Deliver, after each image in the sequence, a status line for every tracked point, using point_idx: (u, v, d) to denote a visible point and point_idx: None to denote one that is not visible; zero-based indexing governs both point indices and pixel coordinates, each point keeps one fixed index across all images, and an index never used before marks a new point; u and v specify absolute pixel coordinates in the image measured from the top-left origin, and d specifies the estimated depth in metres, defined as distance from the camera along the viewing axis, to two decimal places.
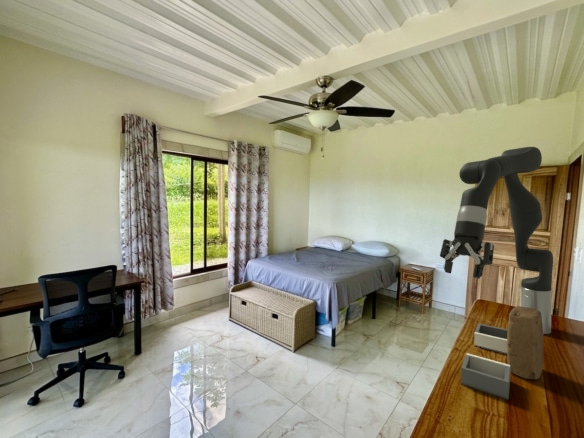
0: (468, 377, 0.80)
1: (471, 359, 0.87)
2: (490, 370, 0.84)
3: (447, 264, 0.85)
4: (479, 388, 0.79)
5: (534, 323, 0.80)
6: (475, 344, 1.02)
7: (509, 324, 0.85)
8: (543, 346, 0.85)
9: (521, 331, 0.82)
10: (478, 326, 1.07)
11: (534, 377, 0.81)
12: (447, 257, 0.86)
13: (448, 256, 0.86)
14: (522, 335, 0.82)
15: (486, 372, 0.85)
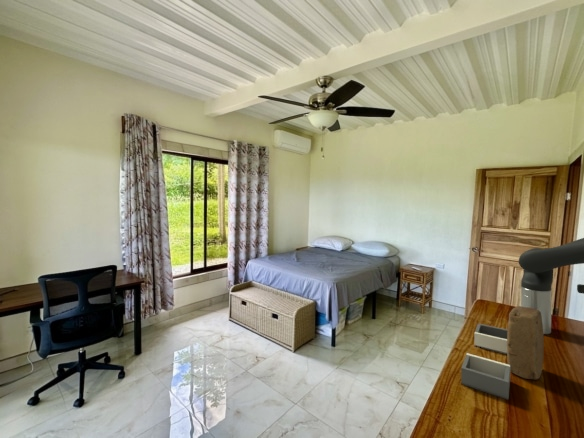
0: (468, 377, 0.80)
1: (471, 359, 0.87)
2: (490, 370, 0.84)
3: None
4: (479, 388, 0.79)
5: (534, 323, 0.80)
6: (475, 344, 1.02)
7: (509, 324, 0.85)
8: (543, 346, 0.85)
9: (521, 331, 0.82)
10: (478, 326, 1.07)
11: (534, 377, 0.81)
12: None
13: None
14: (522, 335, 0.82)
15: (486, 372, 0.85)
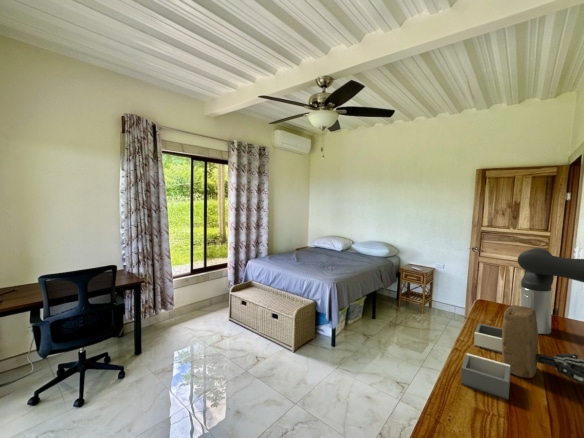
0: (468, 377, 0.80)
1: (471, 359, 0.87)
2: (490, 370, 0.84)
3: (547, 356, 0.83)
4: (479, 388, 0.79)
5: (528, 322, 0.81)
6: (475, 344, 1.02)
7: (504, 323, 0.86)
8: None
9: (516, 330, 0.83)
10: (478, 326, 1.07)
11: (529, 375, 0.82)
12: (557, 358, 0.81)
13: (559, 358, 0.81)
14: (517, 333, 0.83)
15: (486, 372, 0.85)
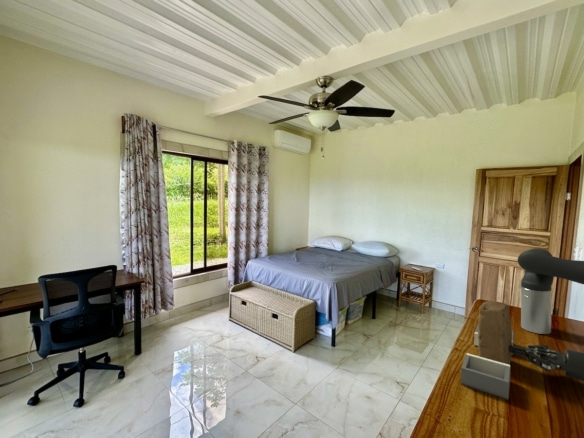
0: (468, 377, 0.80)
1: (471, 359, 0.87)
2: (490, 370, 0.84)
3: (519, 347, 0.87)
4: (479, 388, 0.79)
5: (501, 316, 0.86)
6: (475, 344, 1.02)
7: (479, 318, 0.90)
8: (511, 338, 0.90)
9: (490, 324, 0.88)
10: None
11: None
12: (528, 348, 0.86)
13: (530, 349, 0.85)
14: (491, 327, 0.87)
15: (486, 372, 0.85)
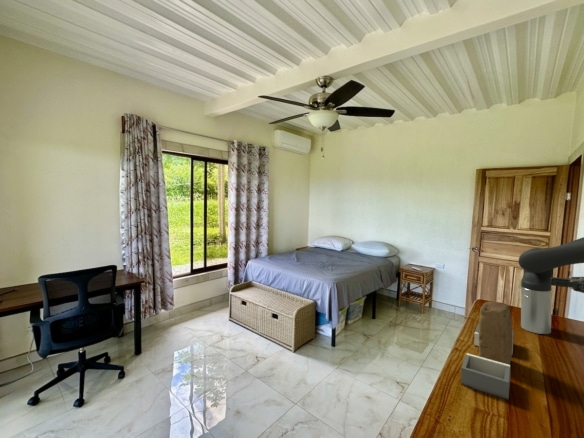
0: (468, 377, 0.80)
1: (471, 359, 0.87)
2: (490, 370, 0.84)
3: (562, 278, 0.79)
4: (479, 388, 0.79)
5: (502, 316, 0.85)
6: (475, 344, 1.02)
7: (480, 318, 0.90)
8: None
9: (491, 324, 0.87)
10: (478, 326, 1.07)
11: None
12: (572, 278, 0.78)
13: (574, 279, 0.78)
14: (492, 328, 0.87)
15: (486, 372, 0.85)
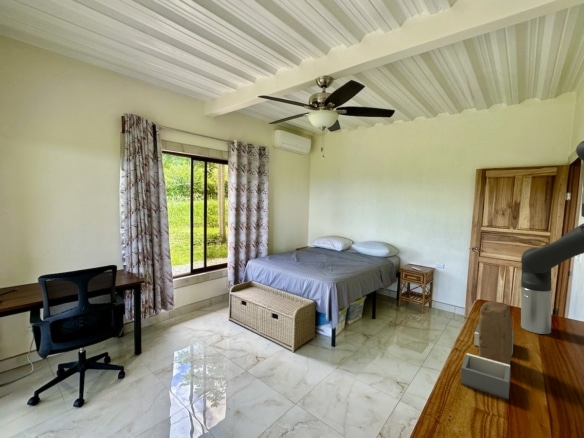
0: (468, 377, 0.80)
1: (471, 359, 0.87)
2: (490, 370, 0.84)
3: None
4: (479, 388, 0.79)
5: (502, 316, 0.85)
6: (475, 344, 1.02)
7: (480, 318, 0.90)
8: None
9: (491, 324, 0.87)
10: (478, 326, 1.07)
11: None
12: None
13: None
14: (492, 328, 0.87)
15: (486, 372, 0.85)
